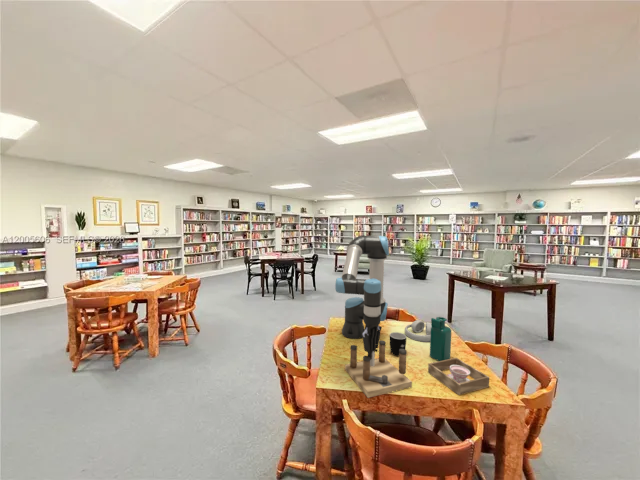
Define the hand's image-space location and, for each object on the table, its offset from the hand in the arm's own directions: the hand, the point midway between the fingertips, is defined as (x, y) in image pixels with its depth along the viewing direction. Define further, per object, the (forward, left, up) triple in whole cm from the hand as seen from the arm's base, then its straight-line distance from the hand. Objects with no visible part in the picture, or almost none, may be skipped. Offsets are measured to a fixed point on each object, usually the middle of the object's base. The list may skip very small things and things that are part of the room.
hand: (371, 364), depth 117 cm
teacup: (+14, +38, -8) cm, 41 cm away
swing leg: (+4, -1, -5) cm, 6 cm away
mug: (-18, +29, -8) cm, 35 cm away
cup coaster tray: (+12, +39, -7) cm, 41 cm away
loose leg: (+7, +12, -2) cm, 14 cm away
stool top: (-1, +4, -7) cm, 8 cm away
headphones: (-32, +56, -8) cm, 65 cm away
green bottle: (-6, +46, -8) cm, 47 cm away
